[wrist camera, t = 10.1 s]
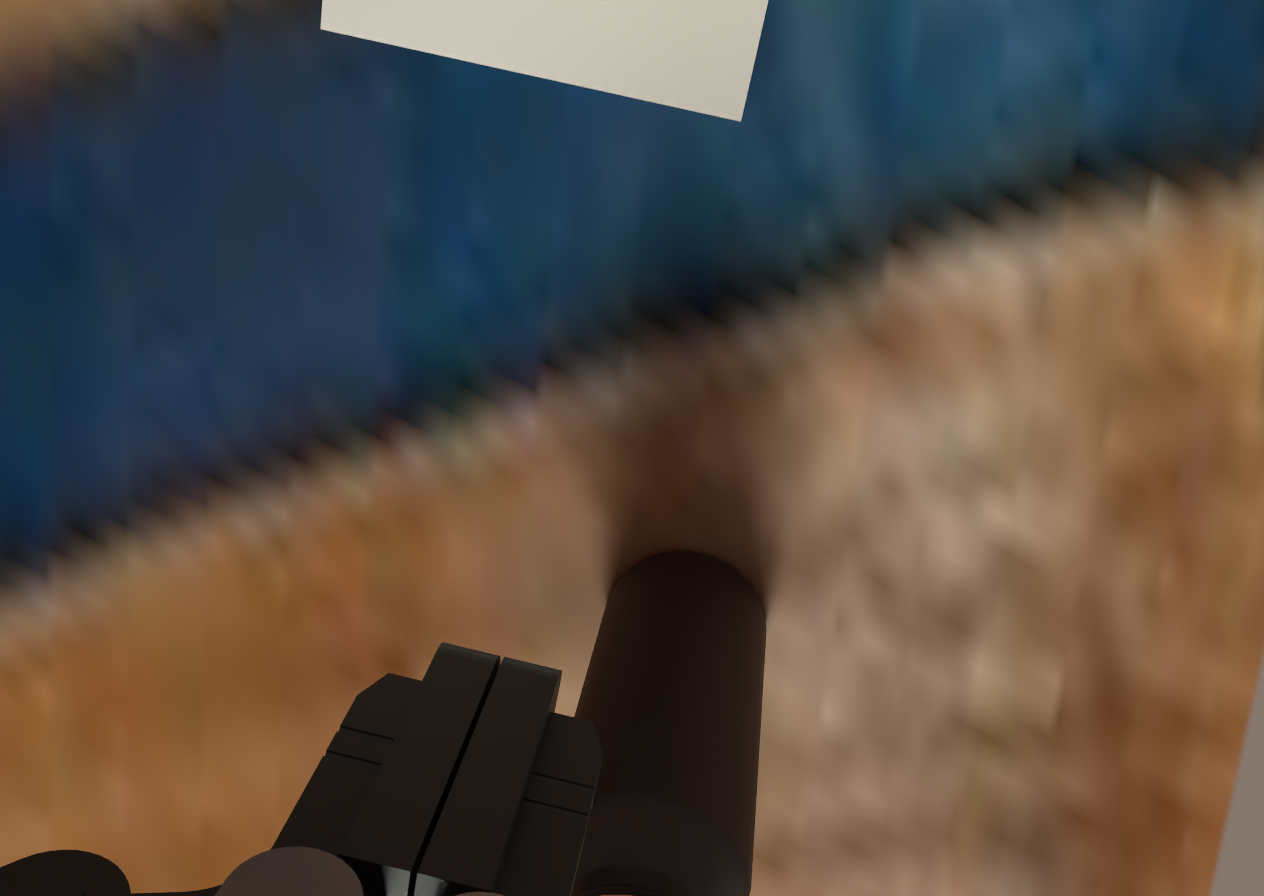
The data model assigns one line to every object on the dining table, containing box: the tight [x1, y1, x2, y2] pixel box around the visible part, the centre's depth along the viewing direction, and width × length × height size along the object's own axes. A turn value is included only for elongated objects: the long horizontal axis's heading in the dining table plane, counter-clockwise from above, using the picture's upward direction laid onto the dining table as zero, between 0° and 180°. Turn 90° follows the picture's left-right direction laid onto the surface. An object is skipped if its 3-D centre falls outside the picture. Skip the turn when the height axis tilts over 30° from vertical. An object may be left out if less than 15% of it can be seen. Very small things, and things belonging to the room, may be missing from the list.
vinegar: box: [571, 552, 766, 896], centre depth 41 cm, size 7×7×20 cm
